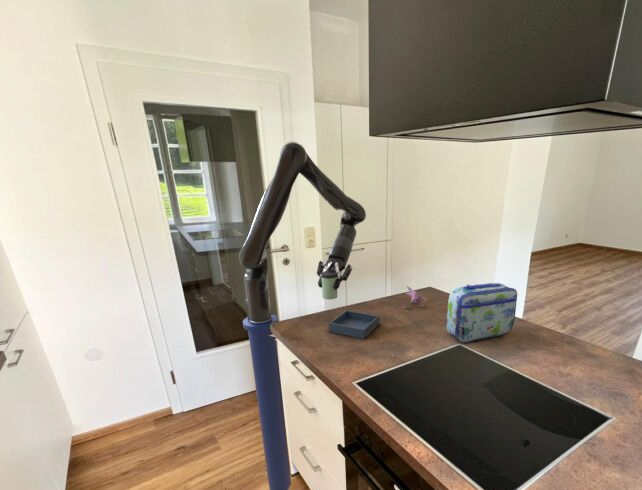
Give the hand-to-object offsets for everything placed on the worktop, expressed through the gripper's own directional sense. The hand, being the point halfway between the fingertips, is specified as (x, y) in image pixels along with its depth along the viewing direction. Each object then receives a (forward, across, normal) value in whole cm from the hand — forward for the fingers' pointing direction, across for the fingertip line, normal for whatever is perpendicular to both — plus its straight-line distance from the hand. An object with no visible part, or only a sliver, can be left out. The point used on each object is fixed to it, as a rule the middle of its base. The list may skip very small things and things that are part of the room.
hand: (327, 287), depth 135 cm
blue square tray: (+8, +8, +18) cm, 21 cm away
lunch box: (-2, +54, +29) cm, 62 cm away
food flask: (+2, 0, +4) cm, 5 cm away
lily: (-16, +22, +43) cm, 51 cm away
